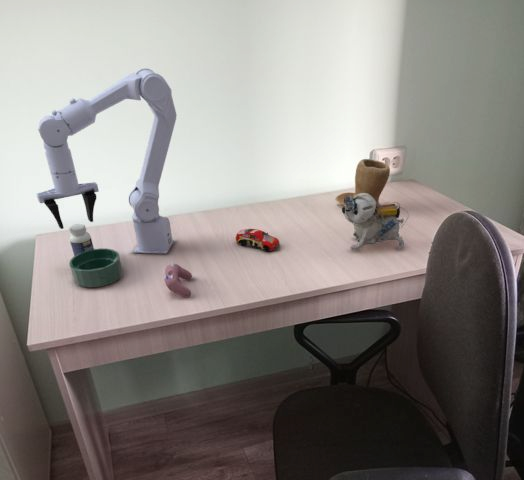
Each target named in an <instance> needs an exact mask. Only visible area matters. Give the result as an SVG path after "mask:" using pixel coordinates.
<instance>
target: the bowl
mask: <svg viewBox="0 0 524 480" xmlns="http://www.w3.org/2000/svg"><path fill="white" fill-rule="evenodd" d="M68 265H69V269H70V272H71V275H72V278H73V281H74V283H75V284H77V285H78V286H80V287H83V288H99V287H105V286H107V285H110V284H112V283H114V282H116V281H118V280H119V279H121V277H122V276H123V275H124V268H123V264H122V259H121V255H120V253H119V252H118V251H116V250H114V249H111V248H104V247H103V248H101V247H100V248H94V249H92V250H88V251H84V252H82V253H79V254H77V255H76V256H74V255H73V257H71V258H70V260H69V263H68Z"/></svg>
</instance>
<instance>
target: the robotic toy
mask: <svg viewBox="0 0 524 480" xmlns="http://www.w3.org/2000/svg"><path fill="white" fill-rule="evenodd" d="M388 203H389V201H386V202H385V204H380V205H379V206H378V205H377V202H376V201H375V199H374V198H373V197H372V196H371V195H369V194H367V193H360V194H357V195H355V196H354V198H352V197H351V195H350V197H345V198H344V204H345V205H346V207H345V206H342V208H341V213H342V214H343V217H344V219H346V220H347V222H349V223H351V224H352V225H353V228H354V231H353V233H352V235H353V237H355V240H356V241H357V243H358V244H357V245H351V246H349V249H350V251H351V250H352V251H359V250H360V249H362V248H363V247H364V246H365V245H374V244H376V243H380V244H381V243H385V242H390V241H396V242H398V245H397V249H398V250H401V249H403V247H404V246H405V240H404V238H403V237H402V236H400V233H399V231H400V229H402V228H403V226H404V225H405V223H407V221H408V219H409V216H410V215H409V212H408V211H406V209H405V208H403V207H401V206H400V203H399V202H397V201H395V203H389V204H388ZM396 204H398V205H396ZM376 205H377V206H376ZM401 209H402V210H404V211H406V213H407V215H408V216H407V218H406V220H405V222H404V218H401V219H399V218H400V214H401ZM374 211H375V213H374ZM400 225H401V227H400Z"/></svg>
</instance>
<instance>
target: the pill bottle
mask: <svg viewBox="0 0 524 480" xmlns="http://www.w3.org/2000/svg"><path fill="white" fill-rule="evenodd" d="M69 232H70V235H69V242H70V246H71V250H72V252H73V257H74V256H76V255H77V254H79V253H82V252H84V251H88V250H92V249H95V247H94V243H93V239H92V235H91V234H90V232H88V231H87V227H86V225H85V224H82V223H76V224H72V225H70V226H69Z"/></svg>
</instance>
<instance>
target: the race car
mask: <svg viewBox="0 0 524 480" xmlns="http://www.w3.org/2000/svg"><path fill="white" fill-rule="evenodd" d="M235 242H236V243H237V244H240V246H241V247H245V246H246V247H250V248H255V249H259V250H263V251H264V252H266V253H268V252H270V251H275V250H277V249H279V248H280V246H281V244H280V243H281V242H280V240H279V239H278V238H277V237H276V236H272V235H270V234H269V232H266V231H264V230H261V229H258V228H247V229H246V228H245V229H240V230H239V231H238V232H236V235H235Z"/></svg>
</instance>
